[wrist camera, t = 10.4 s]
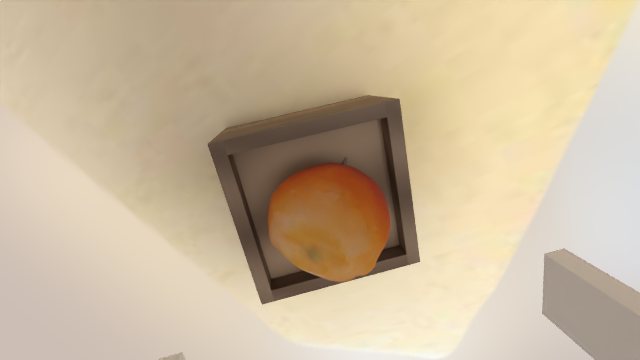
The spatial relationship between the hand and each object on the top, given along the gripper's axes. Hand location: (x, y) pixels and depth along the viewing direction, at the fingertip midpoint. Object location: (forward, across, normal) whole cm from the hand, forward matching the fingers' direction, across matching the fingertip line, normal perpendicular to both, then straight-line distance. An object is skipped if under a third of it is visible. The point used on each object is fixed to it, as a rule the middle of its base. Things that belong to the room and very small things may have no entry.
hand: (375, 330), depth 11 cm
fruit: (+14, 0, 0) cm, 14 cm away
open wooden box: (+19, 0, 0) cm, 19 cm away
